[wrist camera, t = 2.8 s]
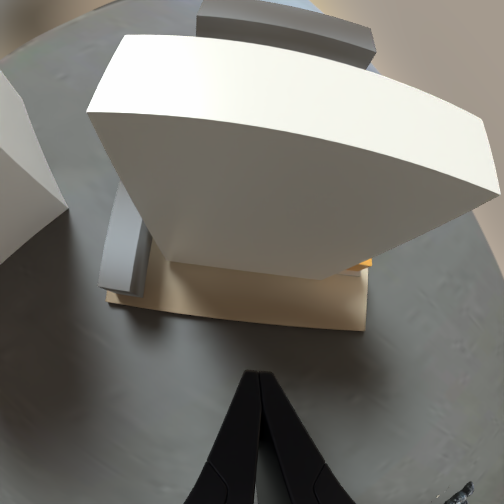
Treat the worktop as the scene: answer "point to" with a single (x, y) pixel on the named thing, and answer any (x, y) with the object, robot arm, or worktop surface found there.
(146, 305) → the gauge bench
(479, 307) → the worktop surface
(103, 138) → the white rectangular slab
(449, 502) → the blueberries
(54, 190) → the milk
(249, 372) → the robot arm
